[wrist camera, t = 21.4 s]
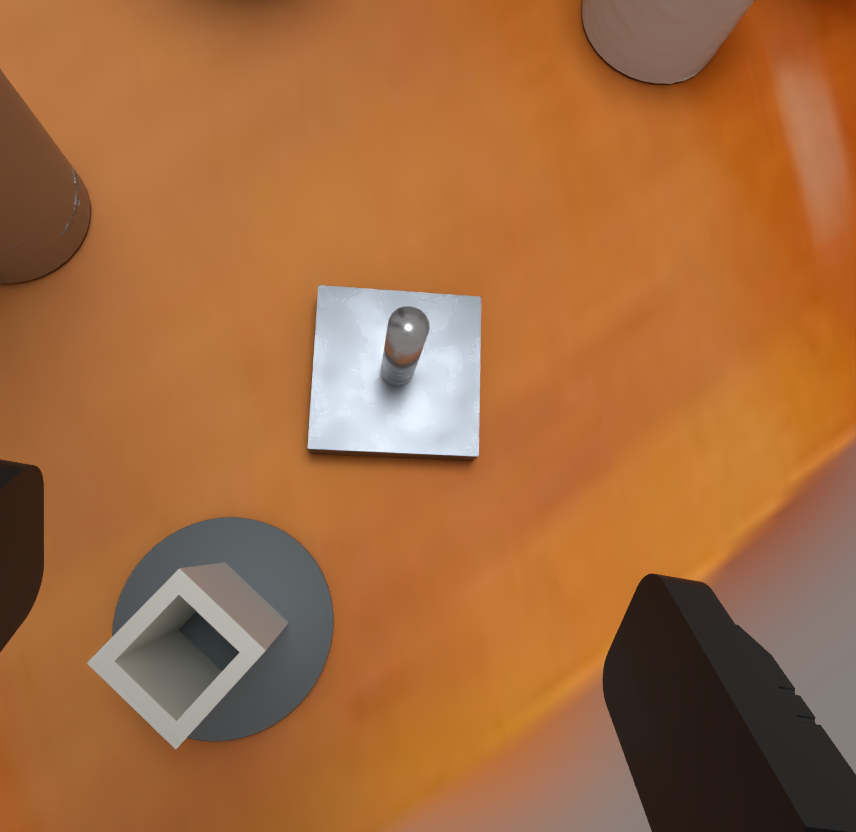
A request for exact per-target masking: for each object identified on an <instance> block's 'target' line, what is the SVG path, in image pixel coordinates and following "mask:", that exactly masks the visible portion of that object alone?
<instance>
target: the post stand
mask: <svg viewBox="0 0 856 832" xmlns="http://www.w3.org/2000/svg"><path fill="white" fill-rule="evenodd" d="M480 339H481V297H476V296H462V295H448V294H434V293H421V292H407V291H393V290H379V289H365V288H351V287H337V286H323V285H318V300H317V315H316V330H315V345H314V359H313V374H312V389H311V404H310V419H309V434H308V448H307V449H308V451H309V453H312V454H334V455H357V456H379V457H401V458H423V459H445V460H468V461H473V460H474V459H476V458H477V457H479V405H480Z"/></svg>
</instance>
